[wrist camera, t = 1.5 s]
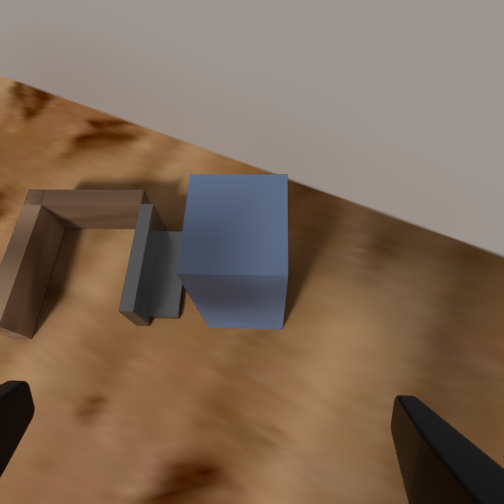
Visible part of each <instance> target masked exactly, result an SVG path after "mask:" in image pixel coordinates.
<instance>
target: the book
mask: <svg viewBox="0 0 504 504" xmlns="http://www.w3.org/2000/svg"><path fill="white" fill-rule="evenodd" d="M176 274H177V276H178V278H179V279H180V281H181V283H182V284H183V286H184V287H185V289H186V291H187V292H188V294H189V296H190V297H191V299H192V301H193V302H194V304H195V305H196V307H197V309H198V310H199V312H200V314H201V315H202V317H203V319H204V320H205V322H206V323H207V325H208V327H209V328H250V329H282V328H283V319H284V310H285V301H286V292H287V282H288V188H287V174H285V175H284V174H283V175H282V174H255V175H190V179H189V187H188V194H187V201H186V208H185V215H184V222H183V229H182V236H181V244H180V251H179V258H178V265H177V272H176Z"/></svg>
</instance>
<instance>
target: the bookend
mask: <svg viewBox="0 0 504 504" xmlns="http://www.w3.org/2000/svg"><path fill="white" fill-rule="evenodd" d="M165 229H166V228H165V226H164V224H163V222H162V220H161V218H160V216H159V214H158V212H157V210H156V209H155V207H154V205H153V204H141V205H140V210H139V215H138V220H137V225H136V229H135V234H134V239H133V244H132V249H131V254H130V258H129V263H128V268H127V273H126V278H125V283H124V287H123V292H122V297H121V302H120V307H119V312H120V313H121V314H123V315H124V316H125V317H127V318H128V319H129V320H130V321H132V322H133V323H134V324H136V325H137V326H150V320H151V318H174V319H179V317H180V309H181V301H182V293H183V284H182V283H181V281H180V279H179V278H178V276H177V274H176V272H177V265H178V258H179V251H180V244H181V236H182V231H165Z"/></svg>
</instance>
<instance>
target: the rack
mask: <svg viewBox="0 0 504 504" xmlns="http://www.w3.org/2000/svg"><path fill="white" fill-rule="evenodd" d="M141 204H151V202H150V201H149V199H148V197H147V195H146V193H145V191H144V190H29V191H28V194H27V197H26V199H25V202H24V205H23V207H22V210H21V212H20V215H19V218H18V220H17V223H16V226H15V228H14V231H13V234H12V236H11V239H10V242H9V244H8V247H7V250H6V252H5V255H4V257H3V260H2V263H1V265H0V334H2V335H5V336H7V337H10V338H15V339H32V336H33V332H34V329H35V326H36V322H37V319H38V316H39V313H40V309H41V306H42V303H43V300H44V296H45V293H46V290H47V287H48V283H49V280H50V277H51V273H52V270H53V267H54V264H55V260H56V257H57V254H58V251H59V247H60V244H61V241H62V238H63V234H64V231H65V228H86V229H136V225H137V220H138V215H139V210H140V205H141Z"/></svg>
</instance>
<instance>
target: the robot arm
mask: <svg viewBox="0 0 504 504" xmlns="http://www.w3.org/2000/svg"><path fill="white" fill-rule="evenodd" d="M34 410H35V407H34V403H33V399H32V395H31V391H30V387H29V384H28V383H27V382H25V381H7V382H5V383H3V384H1V385H0V477H1V475H2V473H3V472H4V470H5V468H6V466H7V464H8V463H9V461H10V459H11V457H12V455H13V453H14V451H15V450H16V448H17V446H18V444H19V442H20V440H21V438H22V437H23V435H24V433H25V431H26V429H27V427H28V425H29V424H30V422H31V420H32V418H33V415H34ZM391 431H392V436H393V441H394V445H395V449H396V453H397V457H398V461H399V466H400V470H401V474H402V478H403V482H404V486H405V490H406V494H407V498H408V502H409V504H504V468H502V467H501V466H500V465H499V464H498V463H496V462H495V461H494V460H493V459H491V458H490V457H489V456H488V455H486V454H485V453H484V452H483V451H482V450H480V449H479V448H478V447H477V446H475V445H474V444H473V443H472V442H471V441H469V440H468V439H467V438H466V437H464V436H463V435H462V434H461V433H459V432H458V431H457V430H456V429H455V428H453V427H452V426H451V425H450V424H448V423H447V422H446V421H445V420H443V419H442V418H441V417H440V416H439V415H437V414H436V413H435V412H434V411H432V410H431V409H430V408H429V407H427V406H426V405H425V404H424V403H423V402H421V401H420V400H419V399H418V398H416V397H414V396H405V395H398V396H397V397H396V398H395V400H394V407H393V413H392V420H391Z"/></svg>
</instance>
